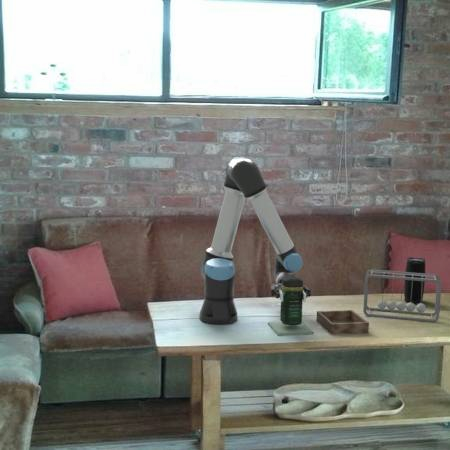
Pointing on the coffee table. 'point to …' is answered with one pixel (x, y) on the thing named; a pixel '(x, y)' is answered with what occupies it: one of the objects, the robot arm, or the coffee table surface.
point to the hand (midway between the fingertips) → (293, 298)
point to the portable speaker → (415, 267)
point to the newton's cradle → (401, 305)
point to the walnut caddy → (342, 328)
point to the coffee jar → (291, 300)
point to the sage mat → (290, 328)
